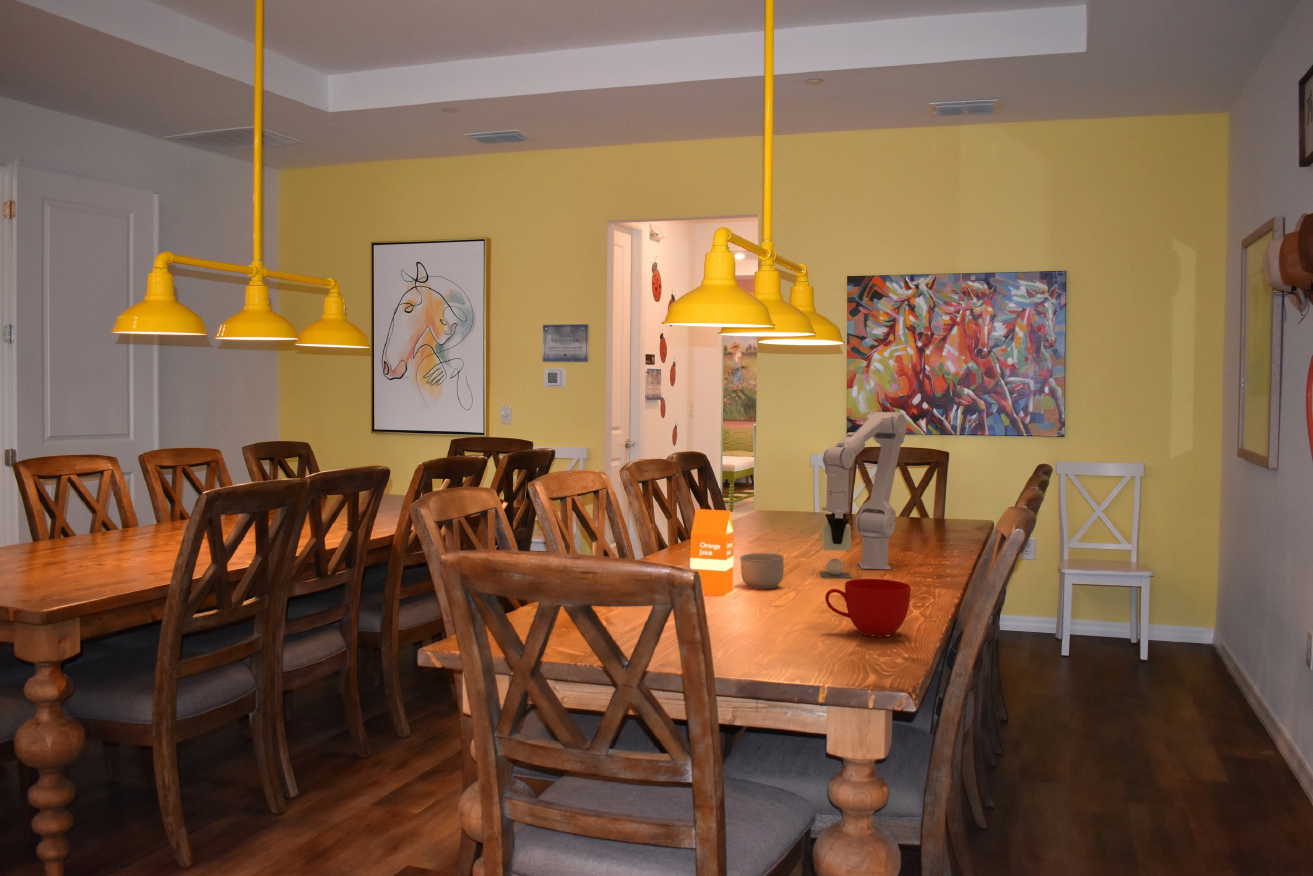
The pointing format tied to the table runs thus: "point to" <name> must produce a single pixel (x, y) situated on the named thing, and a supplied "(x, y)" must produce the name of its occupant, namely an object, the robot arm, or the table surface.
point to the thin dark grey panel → (841, 575)
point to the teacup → (762, 569)
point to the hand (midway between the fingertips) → (836, 542)
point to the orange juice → (713, 550)
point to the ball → (834, 567)
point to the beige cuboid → (829, 542)
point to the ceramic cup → (874, 605)
